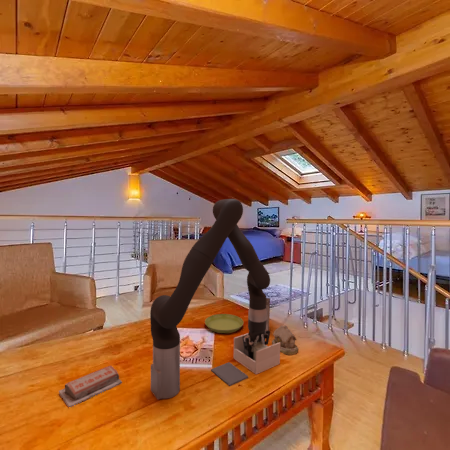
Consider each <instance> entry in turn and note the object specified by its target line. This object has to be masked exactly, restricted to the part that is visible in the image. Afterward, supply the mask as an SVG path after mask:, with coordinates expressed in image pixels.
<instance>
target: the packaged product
mask: <svg viewBox="0 0 450 450" xmlns="http://www.w3.org/2000/svg"><path fill="white" fill-rule="evenodd" d="M122 383H123V381H122V380H121V379H120V375H119V373H118V371H117V369H115V368H114V366H112V365H108V366H105V367H103V368H100V369H97V370H95V371H94V372H90V373H88V374H86V375H83V376H81V377H79V378H76V379H74V380H71V381H68V382H67V383H65V385H64V388H63V389H60V390H58V394H59V397H61V399H62V398H63V399H62V400H63V402H64V403H65V405H66V406H67V407H68V408H69V407H71V408H73V407H75V406H77V405H79V404H81V403H83V402H86V401H88V400H90V399H92V398H94V397H96V396H98V394H99V395H100V393H101V394H103V393H105V392H106V390H107V391H108V390H111V389H113V388H114V387H117V386H120V385H122ZM104 391H105V392H104ZM102 392H103V393H102ZM95 395H96V396H95ZM93 396H94V397H93ZM91 397H92V398H91ZM89 398H90V399H89ZM87 399H88V400H87ZM82 401H83V402H82ZM78 403H79V404H78ZM76 404H77V405H76ZM74 405H75V406H74ZM72 406H73V407H72Z"/></svg>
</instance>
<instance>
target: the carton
mask: <svg viewBox="0 0 450 450" xmlns="http://www.w3.org/2000/svg"><path fill="white" fill-rule="evenodd" d="M248 333H249V332H247V333H245V334H241V335H238V336H235V337H233V359H234V360H235V361H236V362H238V363H239V364H241V365H242V366H244V367H245V368H246V369H248V370H249V371H250V372H252V373H253V374H255V375H258V374H260V373H263V372H265V371H267V370H269V369H271V368H273V367H276V366H277V365H280V363H281V352H280V342H279V343H276V344H273V345H272V344H271V345H269V346H268V345H267V346H268V347H266V348H263V349H261V350H258V351H256V359H255V361H254V360H253V359H251V358H249V357H248V356H246V355H245V354H244V344H243V336H245V337H246V336H247V335H248Z"/></svg>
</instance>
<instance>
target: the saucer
mask: <svg viewBox="0 0 450 450" xmlns="http://www.w3.org/2000/svg"><path fill="white" fill-rule="evenodd" d="M204 324H205V326H206V327H207V328H208V329H209V330H210V331H212V332H213V333H217V334H232V333H236V332H237V331H239V330H240V329H241V328H242V327H243V326H244V320H243V319H242V317H240V316H237V315H235V314H231V313H230V314H229V313H218V314H212V315H210V316H208V317H206V318H205V320H204Z"/></svg>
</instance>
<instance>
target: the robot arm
mask: <svg viewBox="0 0 450 450" xmlns="http://www.w3.org/2000/svg"><path fill="white" fill-rule="evenodd" d="M212 206H213V207H212V214H213V217H214V218H215V221H214V223H213V225H212V226H210V228H209V229H208V230H207V231H206V232H205V233H204V234H203V235H202V236H201V237H200V238H198V240H197V241H196V242H195V243H194V244H193V245H192V247H191V248H190V250H189V252H188V253H187V255H186V256H185V259H184V261H183V263H182V266H181V271H180V276H179V280H178V283H177V284H176V287H175V289H174V291H173V292H172V294H171V295H167V294H162V295H159V296H158V297H156V298H155V299H154V300H153V301H152V303H151V306H150V312H149V313H150V314H149V316H150V334H151V337H152V338H151V339H152V363H151V364H150V392H151V393H152V394H153V396H154V397H155V398H156V400H163V399H165V400H166V399H171V398H173V397H175V396H177V395H178V394H179V393H180V389H181V387H180V386H181V379H180V377H181V334H180V332H179V330H178V328H177V326H178V325H179V324H180V323H181V322H182V320H183V319H184V316H185V315H186V313H187V310H188V308H189V306H190V304H191V302H192V299H193V297H194V295H195V293H196V291H198V288H199V286H200V285H201V283H202V281H203V279H204V278H205V276H206V275H207V273H208V271H209V269H210V268H211V266H212V264H213V262H214V261H215V259H216V258H217V255H218V253H219V252H220V251H221V248H222V247H223V245H224V244H225V242H226V240H227V239H228V240H229V242H230V243H231V245H232V247H233V248H234V250H235V253H236V254H237V257H238V258H239V261H240V262H241V265H242V267H243V269H245V270H246V271H247V272H248V274H247V277H246V285H247V289H248V290H247V291H248V295H249V300H248V301H249V303H248V305H249V306H248V317H247V328H248V332H247V333H248V335H247V336H246V337H245V336H243V344H244V349H245V350H247V351H248V357H249V358H251V359H253V356H254V347H255V346H256V344H257V342H260V343H262V344H264V345H266V346H268V345H269V342H270V341H269V340H270V336H271V330H270V329H269V330H267V329H266V317H267V312H266V298H267V295H266V294H265V292H264V290H266V289H267V288H269V286H270V284H271V278H270V277H271V276H270V275H269V272H268V270H267V269H266V268H265V266H264V264H263V263H262V262H261V261H260V259H259V256H258V253H257V252H256V250H255V248H254V246H253V244H252V243H251V241H250V240H249V238H248V237H247V236H246V235H245V234H244V233H243V231H242V230H241V229H240V227H239V226H238V223H239V222H240V220H241V219H242V216H243V215H244V207H243V204H242V202H241V201H240V200H239V199H236V198H225V199H219V200H217V201H216V202H215V203H214V204H213V205H212ZM252 342H254V343H252ZM251 345H252V347H251Z"/></svg>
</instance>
